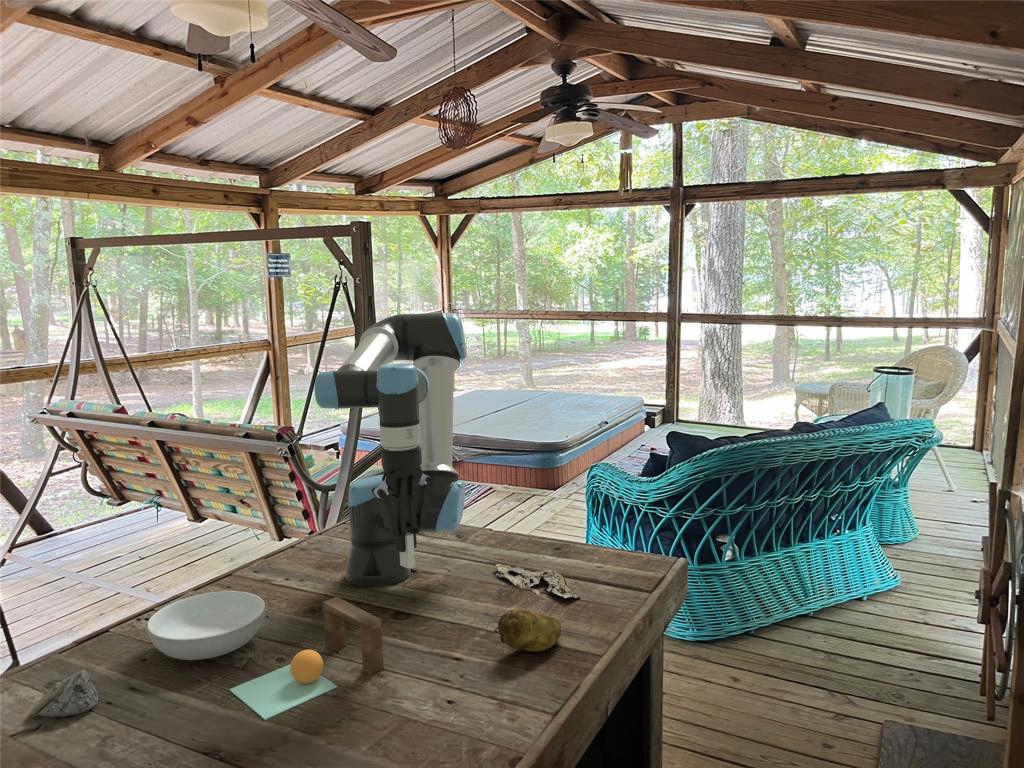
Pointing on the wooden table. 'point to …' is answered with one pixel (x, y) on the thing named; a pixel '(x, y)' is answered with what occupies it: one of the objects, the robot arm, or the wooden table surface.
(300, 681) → the ball
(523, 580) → the driftwood
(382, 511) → the robot arm
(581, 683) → the wooden table surface
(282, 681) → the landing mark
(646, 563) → the wooden table surface
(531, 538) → the wooden table surface
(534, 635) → the potato
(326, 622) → the bridge
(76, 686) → the grey rock
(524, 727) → the wooden table surface
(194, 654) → the serving bowl
